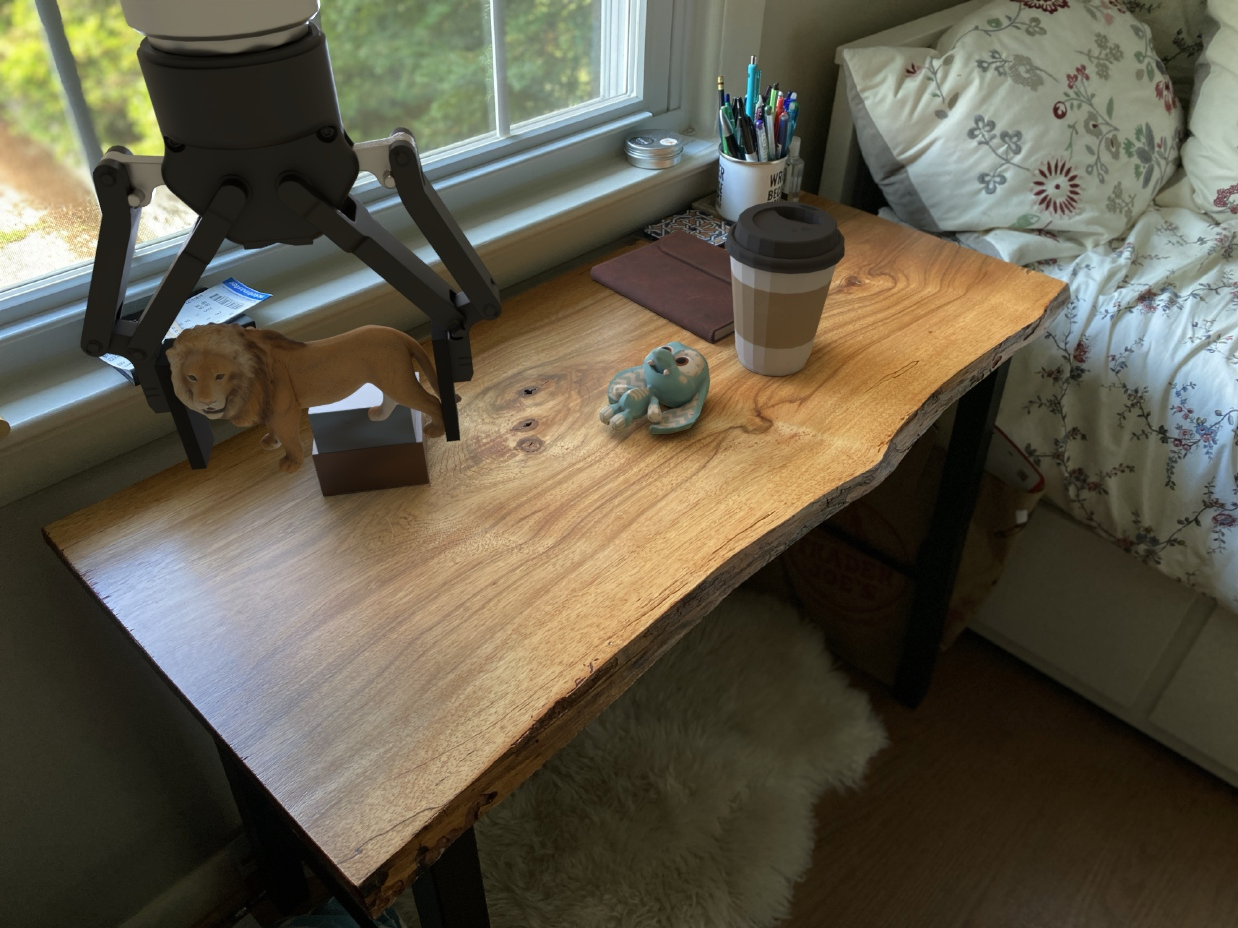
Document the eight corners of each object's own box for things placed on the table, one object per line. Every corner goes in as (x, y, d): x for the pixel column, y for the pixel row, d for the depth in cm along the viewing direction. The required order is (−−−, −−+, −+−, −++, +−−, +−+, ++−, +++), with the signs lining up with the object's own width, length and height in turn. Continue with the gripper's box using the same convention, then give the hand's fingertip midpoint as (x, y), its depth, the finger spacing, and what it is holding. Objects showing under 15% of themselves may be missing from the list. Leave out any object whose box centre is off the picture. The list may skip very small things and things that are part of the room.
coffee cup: (847, 353, 97) (871, 216, 88) (790, 401, 90) (809, 259, 81) (755, 319, 103) (768, 187, 93) (694, 362, 96) (702, 224, 86)
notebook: (710, 345, 98) (712, 328, 97) (590, 280, 110) (590, 264, 109) (802, 298, 106) (805, 283, 105) (681, 242, 118) (681, 227, 116)
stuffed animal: (562, 364, 85) (659, 302, 90) (576, 421, 90) (667, 359, 95) (638, 416, 79) (738, 346, 83) (649, 474, 84) (743, 405, 88)
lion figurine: (218, 514, 48) (168, 364, 42) (194, 459, 51) (145, 314, 46) (480, 427, 54) (466, 287, 48) (442, 383, 57) (426, 248, 52)
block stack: (322, 496, 79) (301, 415, 74) (328, 422, 88) (309, 344, 82) (429, 483, 81) (415, 402, 75) (425, 411, 89) (412, 334, 84)
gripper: (520, -5, 43) (544, 380, 56) (-63, 20, 40) (109, 425, 53) (539, 37, 37) (561, 455, 51) (-142, 71, 34) (73, 511, 47)
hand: (330, 440), depth 52 cm, fingers closed on lion figurine, 13 cm apart
